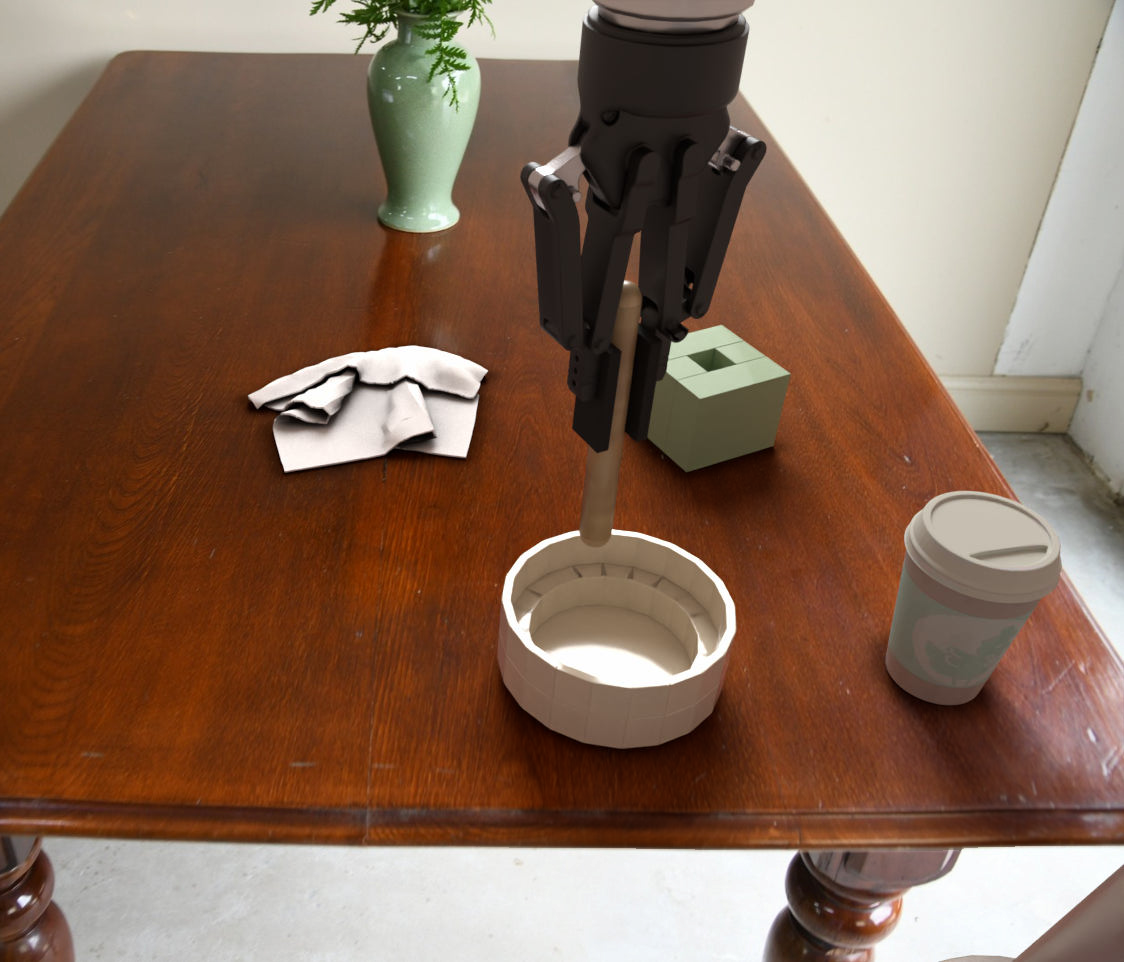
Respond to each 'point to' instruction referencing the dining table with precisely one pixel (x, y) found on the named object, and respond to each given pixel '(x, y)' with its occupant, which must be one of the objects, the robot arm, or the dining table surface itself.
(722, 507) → the dining table surface
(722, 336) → the stand
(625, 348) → the stick
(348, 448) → the cloth
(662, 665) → the bowl
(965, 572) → the coffee cup
